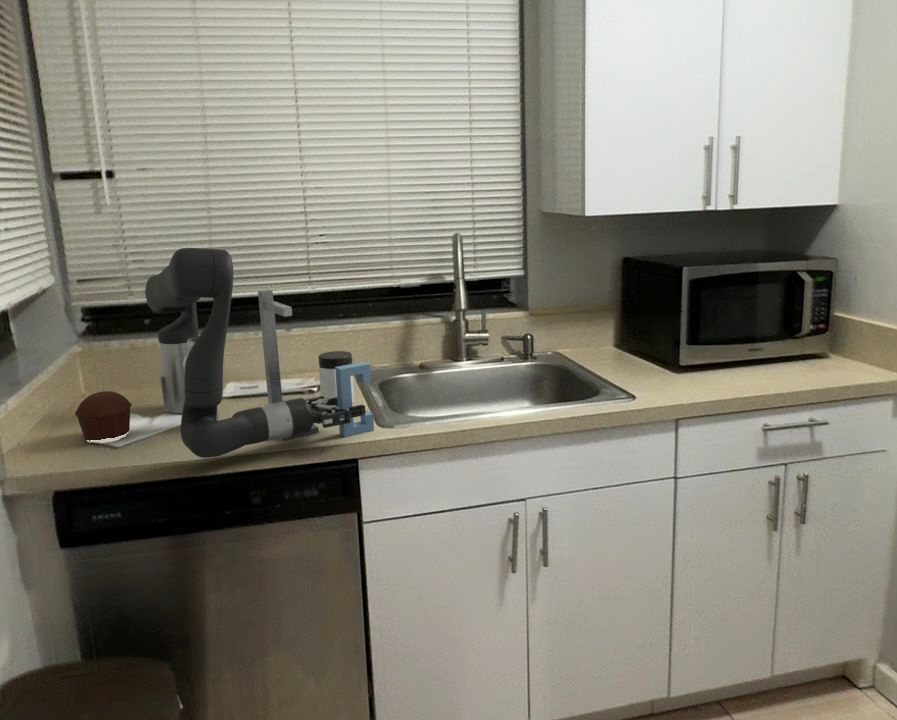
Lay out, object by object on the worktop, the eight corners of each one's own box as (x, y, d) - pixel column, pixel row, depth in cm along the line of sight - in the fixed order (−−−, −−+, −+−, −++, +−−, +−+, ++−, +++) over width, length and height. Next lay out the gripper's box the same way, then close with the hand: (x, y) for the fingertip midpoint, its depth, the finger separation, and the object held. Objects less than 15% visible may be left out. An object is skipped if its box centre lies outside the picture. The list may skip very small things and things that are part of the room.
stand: (284, 440, 161) (271, 301, 154) (255, 419, 176) (243, 291, 169) (318, 432, 165) (308, 296, 158) (288, 412, 180) (277, 287, 173)
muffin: (114, 447, 160) (107, 402, 158) (67, 445, 162) (60, 401, 160) (145, 429, 172) (140, 386, 169) (101, 427, 174) (95, 385, 171)
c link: (344, 437, 162) (340, 369, 158) (339, 434, 164) (335, 367, 160) (374, 430, 165) (370, 364, 162) (368, 427, 168) (364, 361, 164)
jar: (328, 409, 182) (325, 360, 179) (315, 401, 188) (311, 354, 186) (362, 402, 187) (359, 354, 184) (347, 394, 193) (344, 349, 190)
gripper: (295, 410, 148) (369, 395, 157) (270, 394, 160) (340, 381, 168) (298, 446, 150) (371, 429, 158) (273, 428, 162) (342, 413, 170)
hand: (355, 404), depth 163 cm, fingers open, 8 cm apart
